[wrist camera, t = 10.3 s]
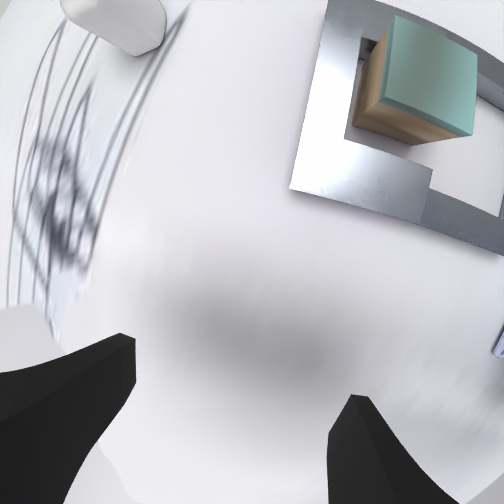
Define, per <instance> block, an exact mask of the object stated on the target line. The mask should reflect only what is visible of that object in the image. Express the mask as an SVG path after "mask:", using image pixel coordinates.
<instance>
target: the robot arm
mask: <svg viewBox="0 0 504 504" xmlns="http://www.w3.org/2000/svg"><path fill="white" fill-rule="evenodd" d="M494 355H495V356H496V357H502V358H504V332H503V334H502V336H501V338H500V340H499V342H498V344H497V346H496V348H495V350H494ZM135 384H136V353H135V338H132V337H130V336H127V335H124V334H122V333H118V334H116V335H113V336H111V337H108V338H106V339H104V340H101V341H99V342H97V343H94V344H92V345H90V346H87V347H85V348H83V349H80V350H78V351H75V352H73V353H71V354H68V355H65V356H62V357H60V358H57V359H54V360H51V361H48V362H45V363H42V364H39V365H36V366H32V367H28V368H24V369H20V370H15V371H10V372H2V373H0V504H63V503H64V500H65V498H66V496H67V493H68V491H69V489H70V487H71V485H72V483H73V481H74V479H75V477H76V475H77V473H78V471H79V469H80V467H81V466H82V464H83V462H84V460H85V458H86V456H87V455H88V453H89V452H90V450H91V449H92V447H93V446H94V444H95V443H96V442H97V440H98V439H99V438H100V436H101V435H102V434H103V432H104V431H105V430H106V428H107V427H108V426H109V424H110V423H111V422H112V420H113V419H114V418H115V416H116V415H117V414H118V412H119V411H120V410H121V408H122V407H123V405H124V404H125V402H126V400H127V399H128V397H129V395H130V393H131V391H132V389H133V387H134V386H135ZM327 476H328V499H329V504H459V503H458V502H457V501H455V500H454V499H453V498H452V497H450V496H449V495H448V494H447V493H445V492H444V491H443V490H442V489H441V488H440V487H439V486H438V485H437V484H436V483H435V482H434V481H433V480H432V479H431V478H430V477H429V476H428V475H427V474H426V473H425V472H424V471H423V470H422V469H421V468H420V467H419V465H418V464H417V463H416V462H415V461H414V459H413V458H412V457H411V456H410V455H409V453H408V452H407V451H406V449H405V448H404V447H403V445H402V444H401V443H400V441H399V440H398V439H397V437H396V436H395V435H394V433H393V432H392V430H391V429H390V427H389V426H388V424H387V423H386V422H385V420H384V419H383V417H382V416H381V414H380V413H379V411H378V410H377V408H376V407H375V406H374V404H373V403H372V401H371V400H370V399H369V397H367V396H359V395H352V394H351V396H350V398H349V399H348V401H347V403H346V405H345V406H344V408H343V410H342V412H341V413H340V415H339V417H338V418H337V420H336V422H335V423H334V425H333V427H332V428H331V430H330V431H329V435H328V447H327Z"/></svg>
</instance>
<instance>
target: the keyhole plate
mask: <svg viewBox="0 0 504 504" xmlns="http://www.w3.org/2000/svg"><path fill="white" fill-rule="evenodd" d="M395 15H396V16H399V17H401V18H404V19H406V20H409V21H411V22H414V23H416V24H418V25H421V26H423V27H425V28H427V29H430V30H432V31H434V32H436V33H438V34H440V35H442V36H444V37H446V38H448V39H450V40H452V41H454V42H456V43H458V44H459V45H461V46H463V47H465V48H467V49H468V50H470V51H472V52H473V53H475V54H477V90H476V95H478V96H480V97H482V98H483V99H485V100H487V101H488V102H490V103H492V104H493V105H495V106H496V107H498V108H499V109H501V110H503V111H504V63H503V62H501V61H500V60H498V59H497V58H495V57H494V56H492V55H491V54H489V53H488V52H486V51H484V50H483V49H481V48H479V47H478V46H476V45H474V44H473V43H471V42H469V41H467V40H466V39H464V38H462V37H460V36H458V35H457V34H455V33H453V32H451V31H449V30H447V29H445V28H443V27H441V26H439V25H437V24H434V23H432V22H430V21H428V20H426V19H423V18H421V17H419V16H416V15H414V14H411V13H409V12H406V11H404V10H401V9H399V8H396V7H393V6H390V5H387V4H384V3H381V2H378V1H375V0H328V5H327V10H326V15H325V21H324V26H323V31H322V37H321V42H320V47H319V52H318V57H317V62H316V67H315V72H314V77H313V82H312V87H311V92H310V96H309V101H308V106H307V111H306V115H305V120H304V125H303V129H302V134H301V139H300V143H299V148H298V152H297V157H296V161H295V166H294V170H293V175H292V179H291V184H290V189H294V190H298V191H302V192H306V193H310V194H314V195H318V196H322V197H326V198H329V199H333V200H337V201H341V202H344V203H348V204H351V205H355V206H359V207H362V208H366V209H369V210H372V211H376V212H379V213H383V214H386V215H389V216H392V217H396V218H399V219H402V220H405V221H408V222H411V223H414V224H418V225H421V226H424V227H427V228H430V229H433V230H435V231H438V232H441V233H444V234H447V235H450V236H453V237H455V238H458V239H461V240H464V241H466V242H469V243H472V244H474V245H477V246H480V247H482V248H485V249H487V250H490V251H492V252H495V253H497V254H500V255H502V256H504V197H503V202H502V206H501V211H500V215H499V218H498V217H496V216H494V215H491V214H489V213H487V212H485V211H483V210H481V209H478V208H476V207H474V206H472V205H469V204H467V203H465V202H462V201H460V200H458V199H455V198H453V197H450V196H448V195H446V194H443V193H440V192H438V191H435V190H433V189H430V188H429V185H430V180H431V176H432V171H433V169H430V168H428V167H425V166H423V165H420V164H417V163H415V162H412V161H409V160H406V159H404V158H401V157H398V156H395V155H392V154H389V153H386V152H383V151H380V150H377V149H374V148H371V147H368V146H365V145H361V144H358V143H355V142H351V141H348V140H344V139H343V137H344V133H345V128H346V123H347V118H348V113H349V107H350V102H351V97H352V91H353V85H354V80H355V74H356V68H357V61H358V58H360V59H364V60H367V59H368V57H369V55H370V54H371V52H372V51H373V49H374V48H375V46H376V44H377V43H378V41H379V40H380V38H381V36H382V35H383V33H384V32H385V30H386V28H387V27H388V25H389V24H390V22H391V21H392V19H393V17H394V16H395Z"/></svg>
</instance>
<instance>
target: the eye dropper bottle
mask: <svg viewBox="0 0 504 504" xmlns="http://www.w3.org/2000/svg"><path fill="white" fill-rule="evenodd" d="M59 2H60V5H61V8H62V10H63V12H64V13H65V15H66V16H67V18H68V19H69V20H70V21H72V22H73V23H74V24H76V25H78V26H80V27H82V28H84V29H85V30H87V31H89V32H91V33H93V34H95V35H97V36H99V37H100V38H102V39H104V40H106V41H108V42H109V43H111V44H113V45H115V46H117V47H118V48H120V49H122V50H124V51H125V52H127V53H129V54H131V55H133V56H138V55H141V54H143V53H146V52H148V51H150V50H152V49H155V48H156V47H158V46H159V45H160V44H161V42H162V40H163V37H164V33H165V26H166V16H165V11H164V8H163V6H162V4H161V2H160V1H159V0H59Z"/></svg>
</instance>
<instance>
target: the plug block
mask: <svg viewBox="0 0 504 504" xmlns="http://www.w3.org/2000/svg"><path fill="white" fill-rule="evenodd" d="M476 90H477V54H475V53H473V52H472V51H470V50H468V49H467V48H465V47H463V46H461V45H459V44H458V43H456V42H454V41H452V40H450V39H448V38H446V37H444V36H442V35H440V34H438V33H436V32H434V31H432V30H430V29H427V28H425V27H423V26H421V25H418V24H416V23H414V22H411V21H409V20H406V19H404V18H401V17H399V16H396V15H395V16H394V17H393V19H392V21H391V22H390V24H389V25H388V27H387V28H386V30H385V32H384V33H383V35H382V36H381V38H380V40H379V41H378V43H377V44H376V46H375V48H374V49H373V51H372V52H371V54H370V55H369V57H368V59H367V60H366V62H365V63H364V65H363V67H362V72H361V78H360V83H359V89H358V94H357V99H356V104H355V109H354V114H353V119H352V124H351V125H354V126H357V127H360V128H363V129H366V130H370V131H373V132H376V133H379V134H381V135H384V136H387V137H390V138H393V139H396V140H398V141H401V142H404V143H406V144H409V145H411V146H413V145H419V144H424V143H429V142H435V141H441V140H446V139H452V138H458V137H465V136H471V135H472V133H473V125H474V116H475V105H476Z"/></svg>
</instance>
